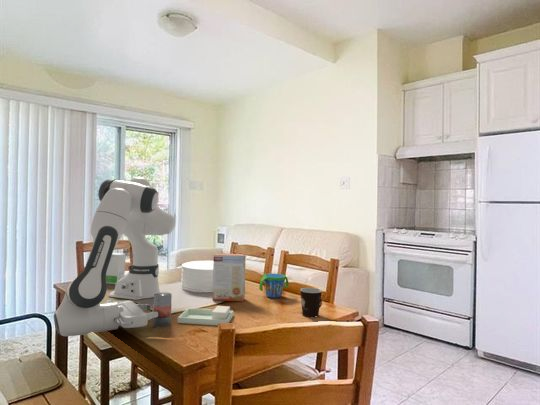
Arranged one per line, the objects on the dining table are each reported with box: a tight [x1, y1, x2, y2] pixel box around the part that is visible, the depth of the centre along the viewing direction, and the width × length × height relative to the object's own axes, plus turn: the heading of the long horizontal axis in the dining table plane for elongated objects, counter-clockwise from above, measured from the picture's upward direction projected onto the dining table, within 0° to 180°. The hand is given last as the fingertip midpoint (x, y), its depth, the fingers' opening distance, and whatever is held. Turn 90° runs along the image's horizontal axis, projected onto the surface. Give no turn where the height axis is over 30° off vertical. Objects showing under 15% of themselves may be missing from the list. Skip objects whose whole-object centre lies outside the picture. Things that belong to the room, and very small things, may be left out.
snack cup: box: [259, 273, 289, 299], centre depth 175 cm, size 16×10×10 cm
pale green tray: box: [177, 307, 234, 326], centre depth 136 cm, size 18×12×2 cm, turn 85°
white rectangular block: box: [212, 305, 231, 320], centre depth 136 cm, size 5×8×4 cm, turn 175°
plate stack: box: [180, 260, 214, 293], centre depth 193 cm, size 28×28×12 cm
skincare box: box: [106, 252, 126, 285], centre depth 194 cm, size 8×7×16 cm
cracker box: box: [212, 252, 247, 303], centre depth 167 cm, size 14×6×21 cm, turn 84°
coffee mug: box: [300, 287, 323, 318], centre depth 146 cm, size 12×9×10 cm
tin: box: [152, 292, 173, 329], centre depth 130 cm, size 6×6×11 cm
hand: (153, 310), depth 128 cm, fingers open, 8 cm apart
